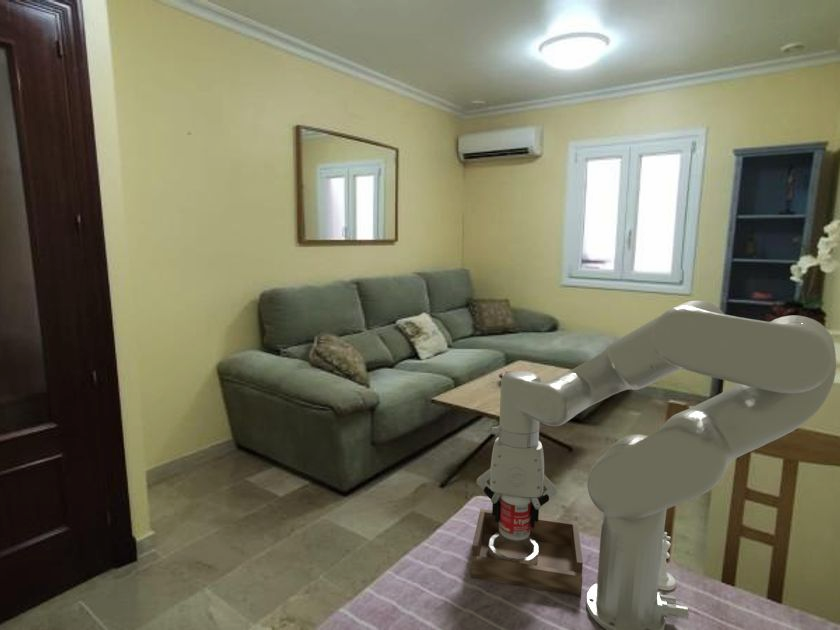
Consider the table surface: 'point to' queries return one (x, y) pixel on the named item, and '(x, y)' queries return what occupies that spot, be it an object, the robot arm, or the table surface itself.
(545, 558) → the walled box
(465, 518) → the table surface
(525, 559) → the collar
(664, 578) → the chess piece
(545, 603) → the table surface
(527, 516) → the pill bottle
